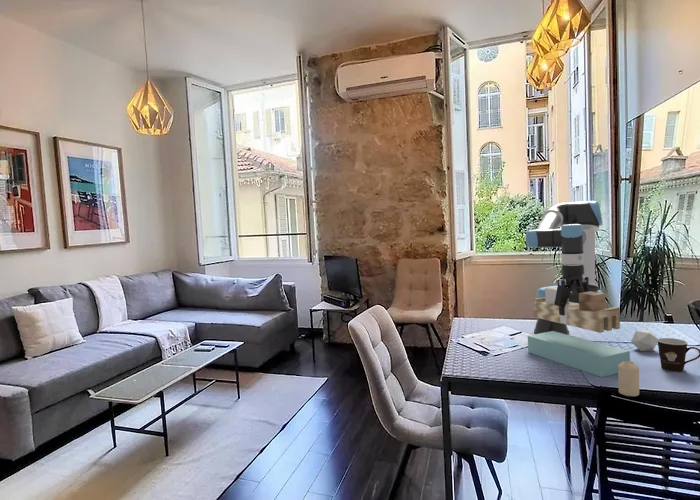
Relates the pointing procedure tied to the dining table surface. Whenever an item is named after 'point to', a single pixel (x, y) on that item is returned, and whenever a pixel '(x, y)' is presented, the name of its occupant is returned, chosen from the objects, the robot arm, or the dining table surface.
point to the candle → (628, 378)
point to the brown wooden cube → (591, 301)
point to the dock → (578, 352)
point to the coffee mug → (673, 354)
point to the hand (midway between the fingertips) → (574, 321)
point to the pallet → (579, 316)
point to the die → (644, 340)
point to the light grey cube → (551, 295)
